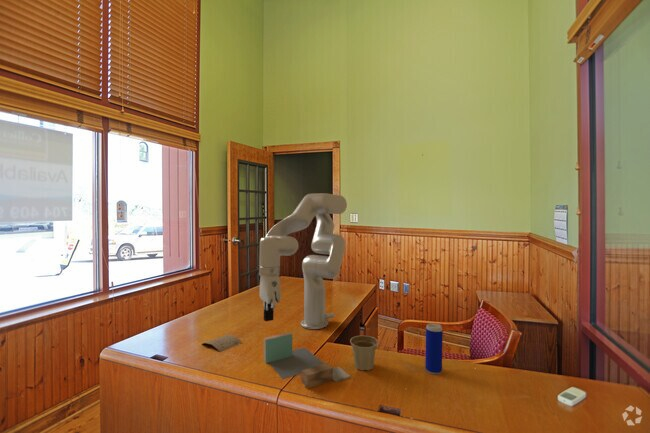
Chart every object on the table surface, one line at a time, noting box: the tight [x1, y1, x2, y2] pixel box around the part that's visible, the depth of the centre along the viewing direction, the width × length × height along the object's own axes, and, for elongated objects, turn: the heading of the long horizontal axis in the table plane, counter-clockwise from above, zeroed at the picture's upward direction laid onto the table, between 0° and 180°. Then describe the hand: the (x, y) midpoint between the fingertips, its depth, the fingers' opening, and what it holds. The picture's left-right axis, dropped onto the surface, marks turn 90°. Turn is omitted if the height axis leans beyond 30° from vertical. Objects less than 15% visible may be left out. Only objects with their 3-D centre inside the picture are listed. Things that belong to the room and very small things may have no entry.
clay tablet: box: [202, 333, 243, 353], centre depth 121 cm, size 14×10×3 cm
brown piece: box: [301, 362, 351, 389], centre depth 98 cm, size 14×6×4 cm, turn 121°
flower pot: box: [349, 335, 379, 371], centre depth 105 cm, size 9×9×9 cm
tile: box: [263, 331, 293, 364], centre depth 110 cm, size 10×2×8 cm, turn 121°
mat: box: [267, 347, 325, 380], centre depth 108 cm, size 16×16×1 cm
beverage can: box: [424, 322, 444, 375], centre depth 103 cm, size 5×5×15 cm
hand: (268, 320), depth 116 cm, fingers closed
